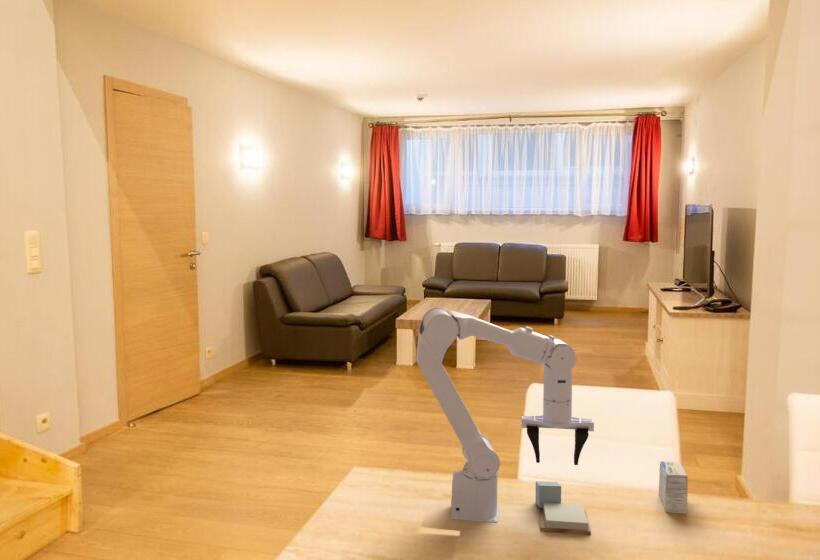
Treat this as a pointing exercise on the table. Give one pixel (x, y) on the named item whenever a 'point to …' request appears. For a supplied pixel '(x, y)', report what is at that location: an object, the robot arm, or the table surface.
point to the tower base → (558, 530)
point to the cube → (547, 493)
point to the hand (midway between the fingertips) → (556, 462)
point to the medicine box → (673, 487)
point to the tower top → (565, 516)
